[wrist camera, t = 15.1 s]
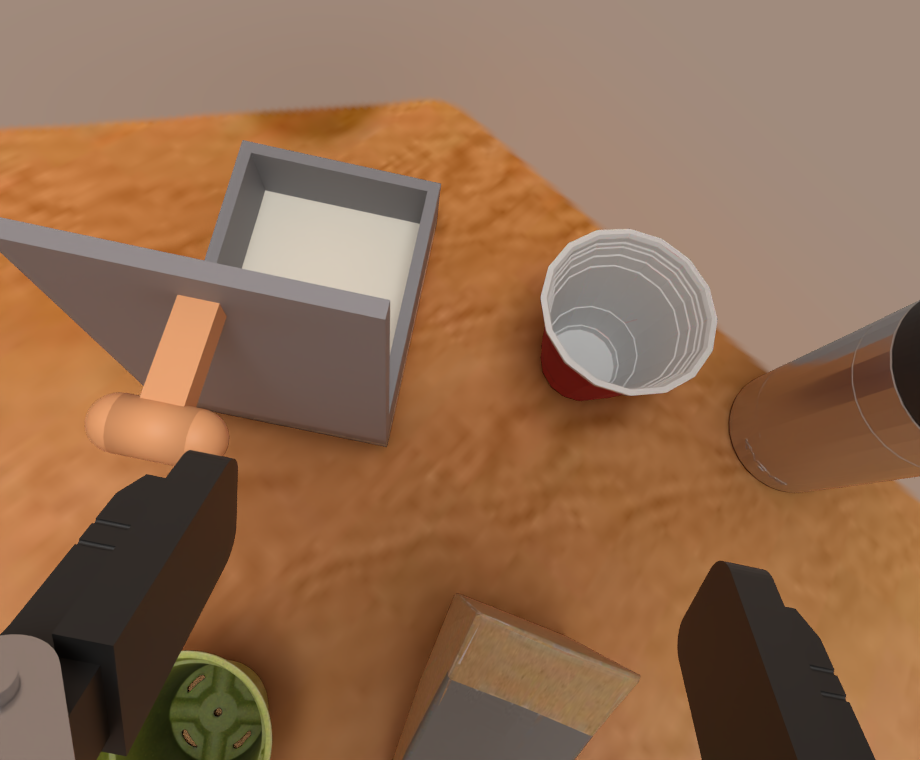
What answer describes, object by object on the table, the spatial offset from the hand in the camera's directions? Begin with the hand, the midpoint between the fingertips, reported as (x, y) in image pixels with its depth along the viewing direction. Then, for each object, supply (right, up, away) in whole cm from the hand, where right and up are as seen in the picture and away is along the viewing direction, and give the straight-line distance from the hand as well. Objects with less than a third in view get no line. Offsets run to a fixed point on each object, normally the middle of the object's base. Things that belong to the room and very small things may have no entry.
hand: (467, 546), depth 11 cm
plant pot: (-15, -18, +32) cm, 40 cm away
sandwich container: (+1, -20, +33) cm, 39 cm away
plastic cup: (+9, +4, +40) cm, 41 cm away
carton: (-11, +8, +39) cm, 41 cm away
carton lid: (-11, +4, +21) cm, 24 cm away
